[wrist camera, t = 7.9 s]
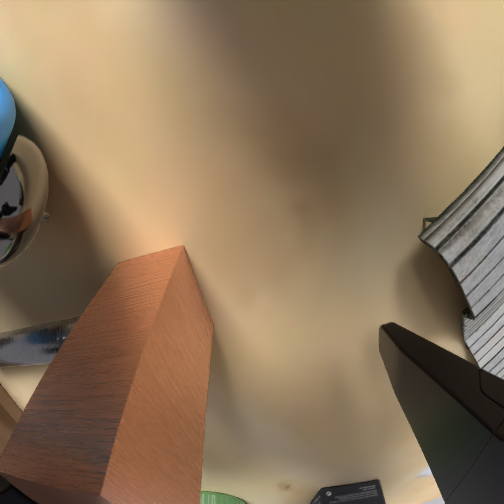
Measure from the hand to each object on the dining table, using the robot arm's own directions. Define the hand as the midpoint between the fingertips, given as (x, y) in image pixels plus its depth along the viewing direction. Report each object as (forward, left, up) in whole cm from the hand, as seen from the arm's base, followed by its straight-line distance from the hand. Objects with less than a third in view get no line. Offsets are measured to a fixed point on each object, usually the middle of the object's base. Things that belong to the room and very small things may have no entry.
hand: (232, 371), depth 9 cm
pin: (+10, 0, -5) cm, 11 cm away
